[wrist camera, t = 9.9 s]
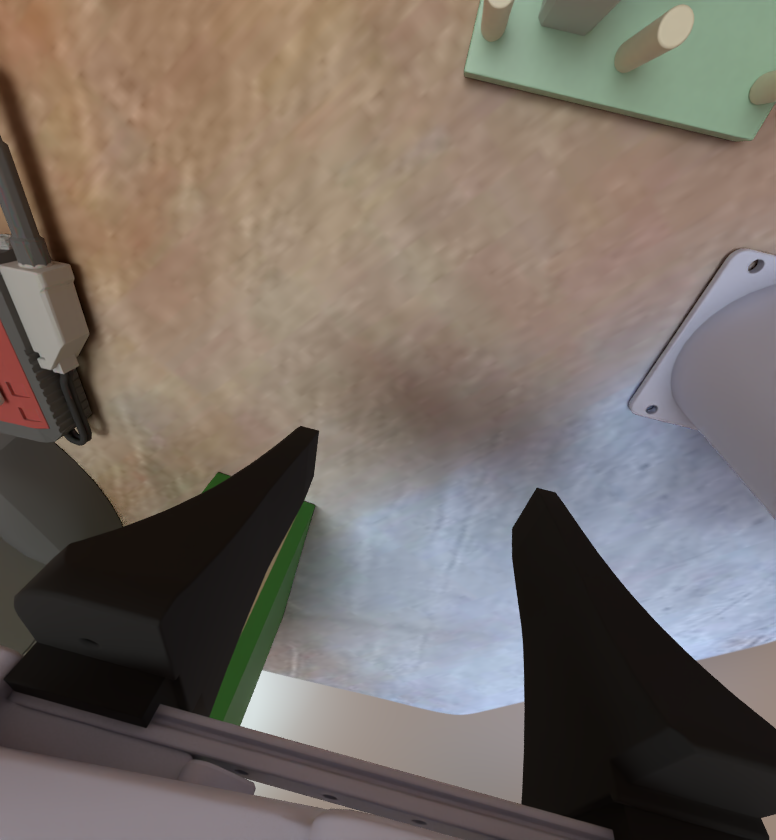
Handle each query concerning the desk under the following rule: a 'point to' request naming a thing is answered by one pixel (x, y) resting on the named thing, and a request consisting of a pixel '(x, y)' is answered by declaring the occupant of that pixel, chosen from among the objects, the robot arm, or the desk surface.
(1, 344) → the walkie-talkie
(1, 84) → the desk surface
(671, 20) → the dish rack
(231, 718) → the hardback book
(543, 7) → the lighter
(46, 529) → the alarm clock
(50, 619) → the robot arm
